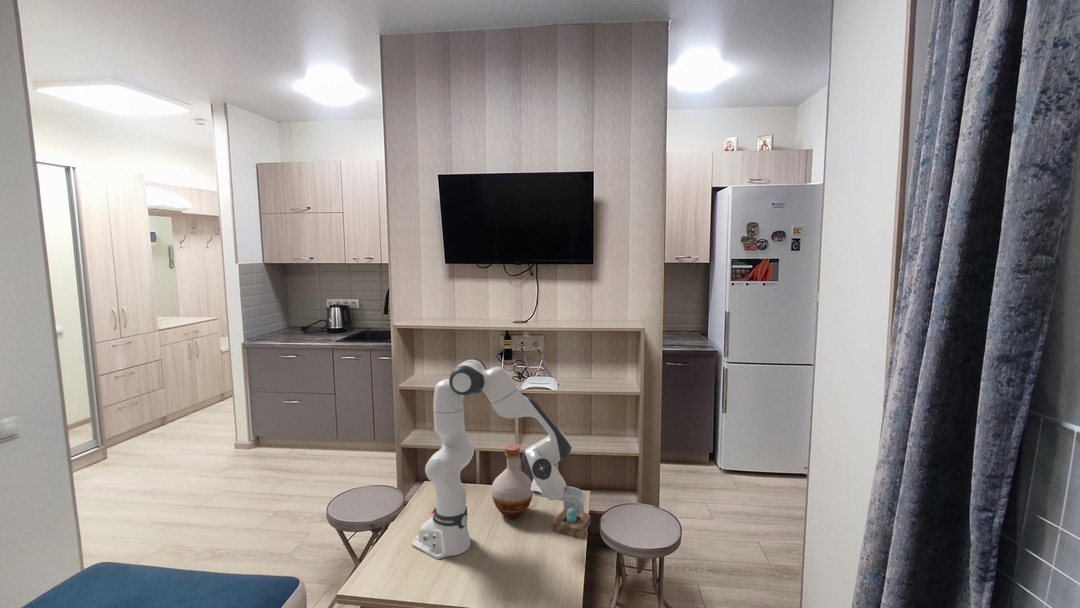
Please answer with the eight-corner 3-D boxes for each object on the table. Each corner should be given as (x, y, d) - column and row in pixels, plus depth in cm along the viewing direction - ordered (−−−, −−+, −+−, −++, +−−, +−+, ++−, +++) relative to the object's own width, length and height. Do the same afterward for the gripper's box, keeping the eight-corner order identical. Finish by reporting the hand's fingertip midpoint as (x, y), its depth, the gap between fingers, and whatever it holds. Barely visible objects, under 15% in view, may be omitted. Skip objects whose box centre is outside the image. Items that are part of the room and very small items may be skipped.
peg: (565, 528, 191) (565, 509, 190) (568, 523, 194) (568, 505, 194) (574, 531, 189) (574, 511, 188) (577, 526, 193) (578, 507, 192)
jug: (501, 499, 215) (501, 435, 213) (539, 505, 210) (539, 439, 208) (485, 521, 196) (484, 451, 194) (526, 528, 191) (526, 456, 189)
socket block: (552, 531, 189) (552, 522, 188) (563, 517, 200) (563, 509, 199) (580, 538, 184) (580, 529, 183) (590, 523, 195) (590, 515, 194)
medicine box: (584, 513, 203) (584, 493, 202) (579, 517, 199) (579, 498, 199) (568, 508, 207) (568, 489, 207) (563, 512, 203) (563, 493, 203)
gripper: (582, 482, 170) (590, 497, 180) (531, 473, 178) (541, 487, 188) (578, 500, 166) (587, 514, 176) (526, 489, 175) (537, 503, 184)
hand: (563, 500), depth 182 cm, fingers open, 8 cm apart
